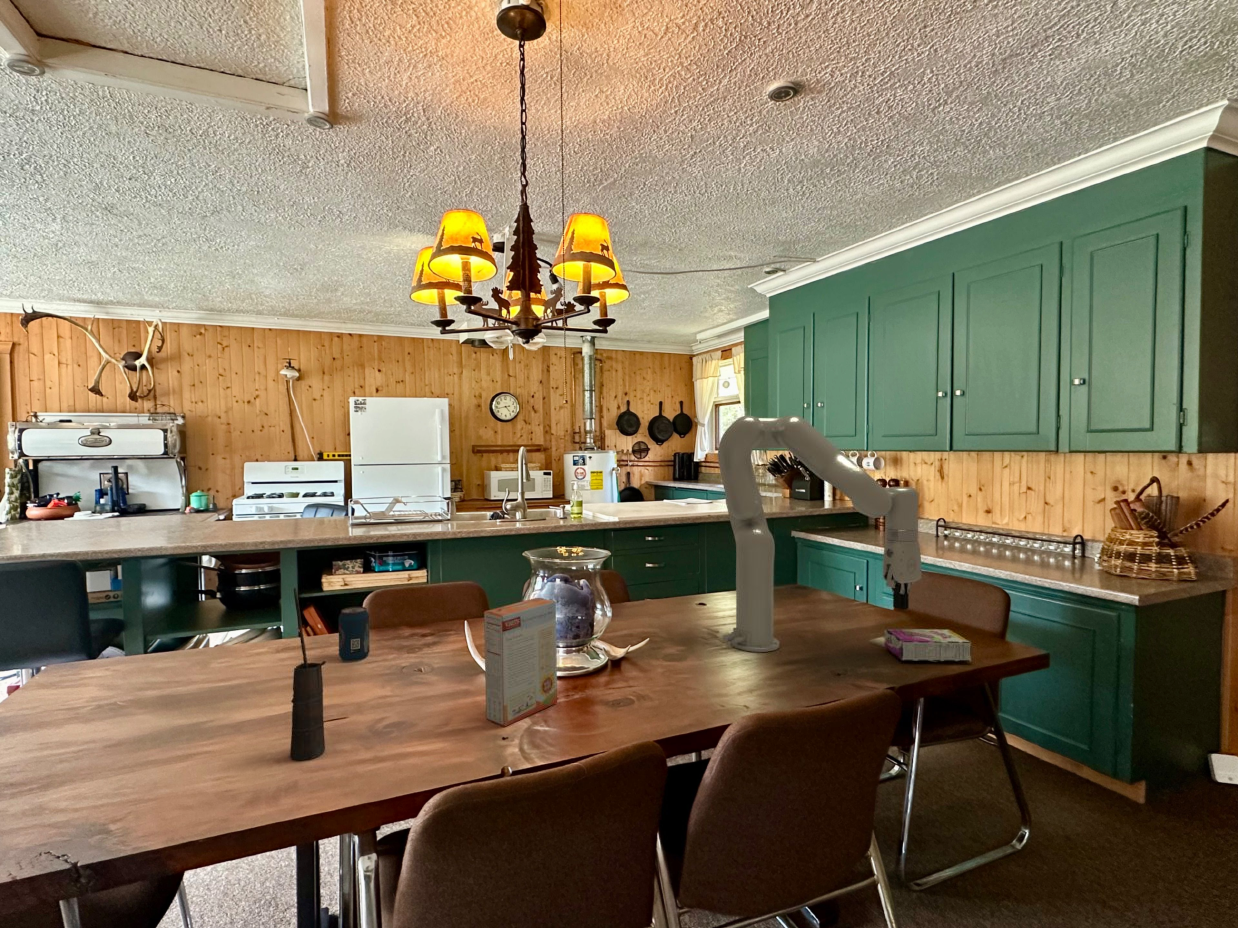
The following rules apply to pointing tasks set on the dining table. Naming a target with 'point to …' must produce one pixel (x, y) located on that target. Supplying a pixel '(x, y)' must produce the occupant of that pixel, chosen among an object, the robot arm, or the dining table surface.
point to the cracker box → (520, 660)
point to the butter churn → (307, 705)
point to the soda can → (354, 634)
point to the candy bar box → (927, 645)
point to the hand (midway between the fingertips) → (900, 608)
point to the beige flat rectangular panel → (880, 642)
